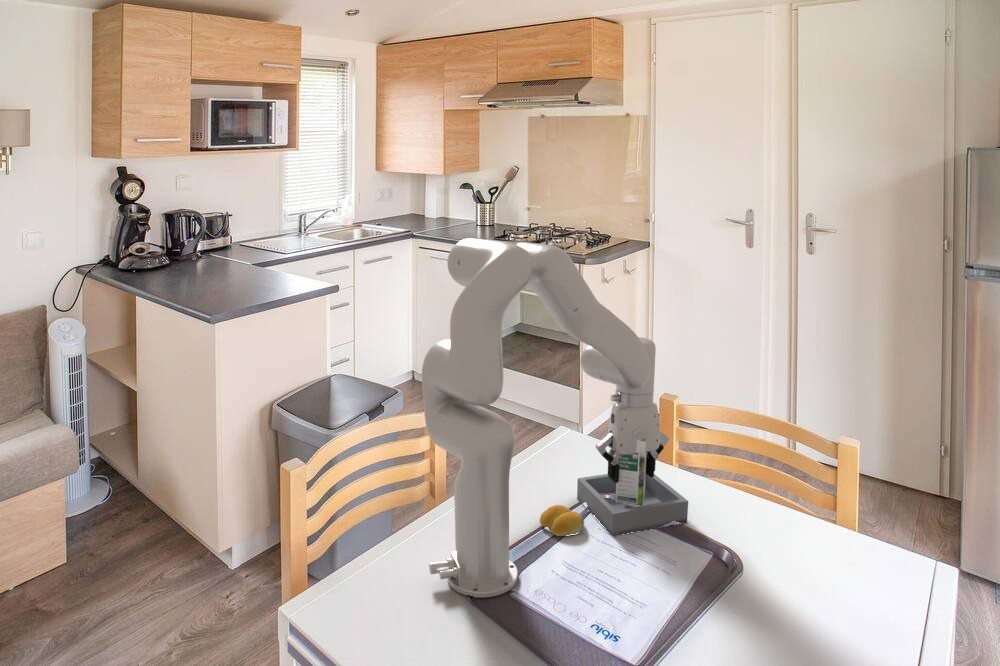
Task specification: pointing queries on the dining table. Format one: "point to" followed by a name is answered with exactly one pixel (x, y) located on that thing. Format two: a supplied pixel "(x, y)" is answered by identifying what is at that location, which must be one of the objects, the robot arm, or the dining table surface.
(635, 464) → the syrup box
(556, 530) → the bread roll
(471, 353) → the robot arm
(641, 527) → the bin
